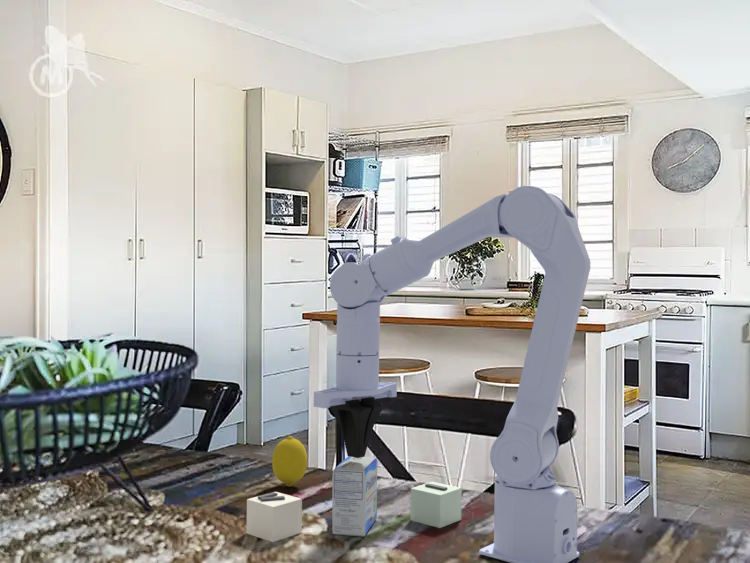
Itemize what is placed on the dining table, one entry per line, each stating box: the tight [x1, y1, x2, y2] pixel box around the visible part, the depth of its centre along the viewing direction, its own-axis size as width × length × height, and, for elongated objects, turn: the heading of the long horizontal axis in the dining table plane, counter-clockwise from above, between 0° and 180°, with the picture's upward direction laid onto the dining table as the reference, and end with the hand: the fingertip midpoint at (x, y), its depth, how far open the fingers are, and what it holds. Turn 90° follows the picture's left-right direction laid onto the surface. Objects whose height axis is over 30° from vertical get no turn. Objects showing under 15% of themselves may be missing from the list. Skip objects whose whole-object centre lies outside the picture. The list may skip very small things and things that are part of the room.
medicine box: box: [331, 456, 378, 538], centre depth 105 cm, size 8×4×9 cm, turn 168°
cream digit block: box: [245, 491, 303, 543], centre depth 102 cm, size 5×5×5 cm
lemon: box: [271, 435, 308, 487], centre depth 125 cm, size 6×6×8 cm
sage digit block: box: [409, 481, 463, 529], centre depth 109 cm, size 5×5×5 cm
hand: (355, 456), depth 105 cm, fingers closed
